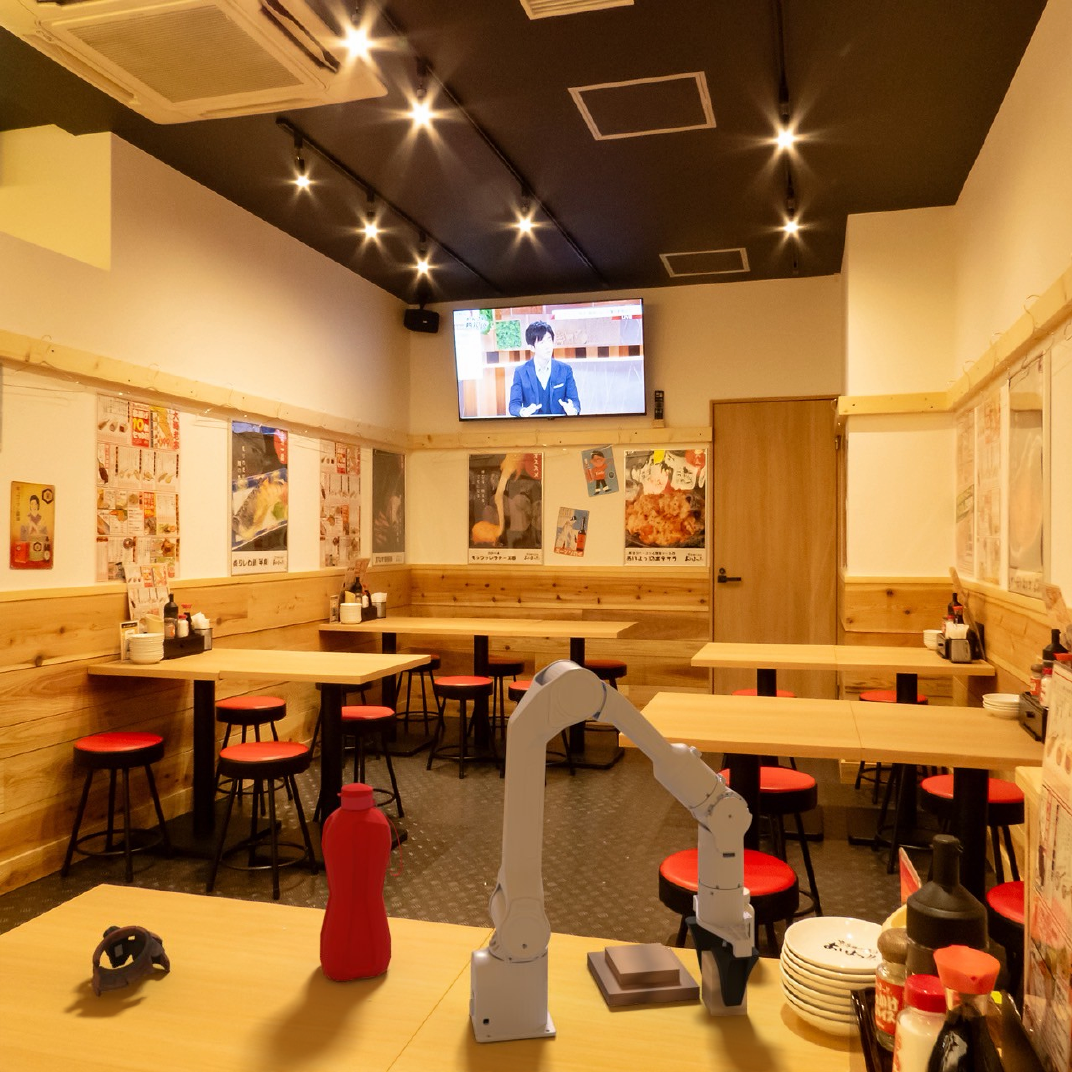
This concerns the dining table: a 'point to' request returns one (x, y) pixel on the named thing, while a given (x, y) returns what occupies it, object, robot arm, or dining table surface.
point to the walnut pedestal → (641, 975)
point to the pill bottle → (750, 910)
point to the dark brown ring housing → (119, 948)
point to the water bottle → (356, 887)
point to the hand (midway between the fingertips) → (720, 989)
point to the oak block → (717, 989)
